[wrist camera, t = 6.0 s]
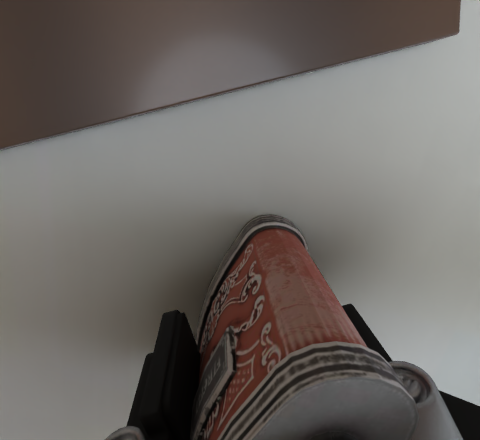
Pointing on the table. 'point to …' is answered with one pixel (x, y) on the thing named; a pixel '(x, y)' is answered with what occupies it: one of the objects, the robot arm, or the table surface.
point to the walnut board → (181, 52)
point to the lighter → (288, 352)
